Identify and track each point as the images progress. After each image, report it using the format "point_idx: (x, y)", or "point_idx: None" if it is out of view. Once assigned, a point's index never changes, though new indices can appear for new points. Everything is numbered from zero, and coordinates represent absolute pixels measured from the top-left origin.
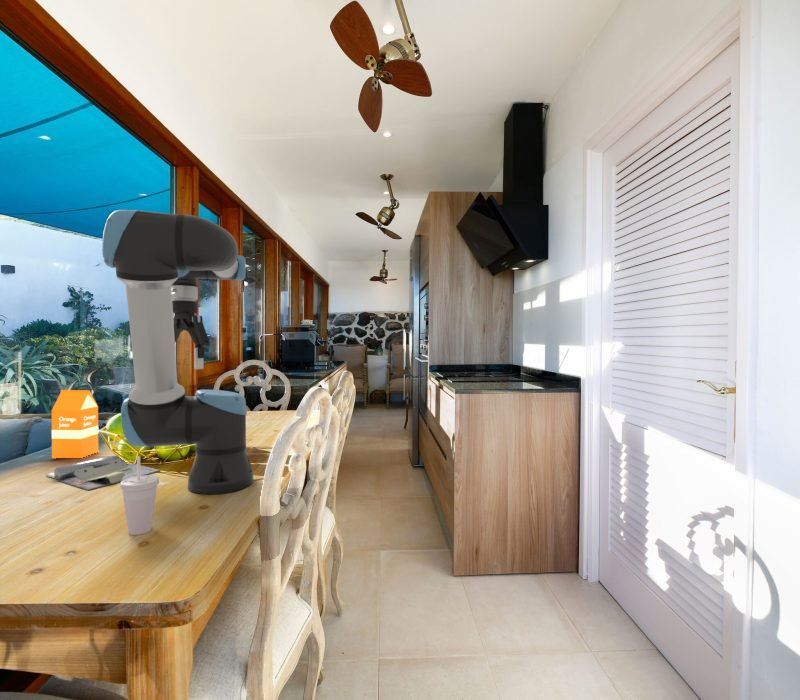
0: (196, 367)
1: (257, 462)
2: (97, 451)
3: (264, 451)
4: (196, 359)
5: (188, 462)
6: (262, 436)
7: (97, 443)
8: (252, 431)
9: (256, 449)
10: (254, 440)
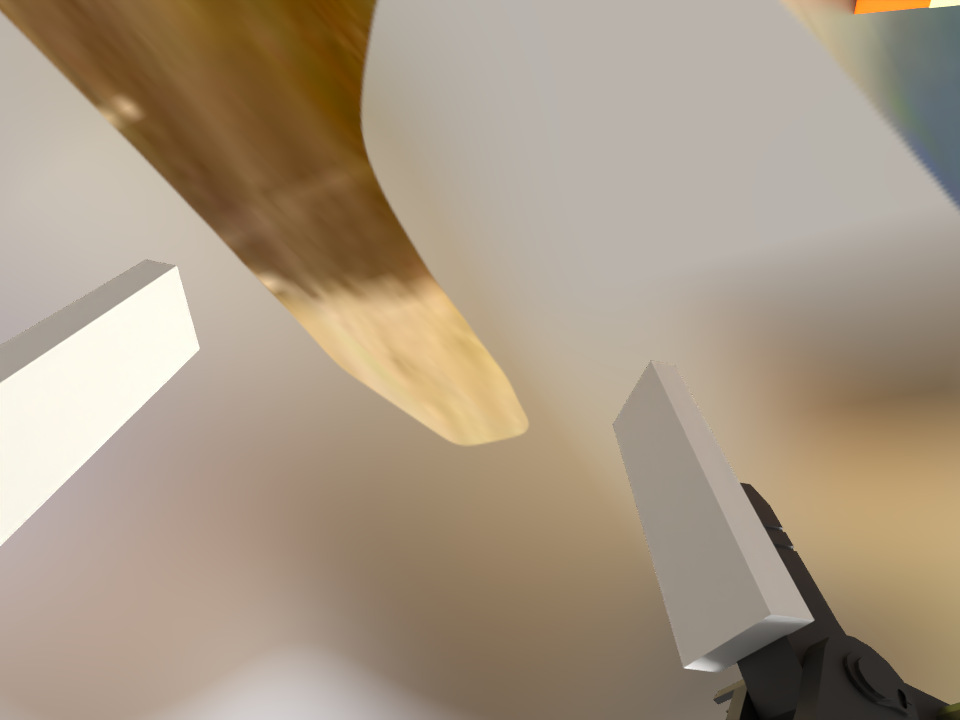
0: (133, 276)
1: (126, 125)
2: (859, 7)
3: (242, 261)
4: (41, 330)
5: (338, 18)
6: (399, 403)
7: (888, 3)
8: (470, 439)
9: (286, 275)
10: (383, 362)
